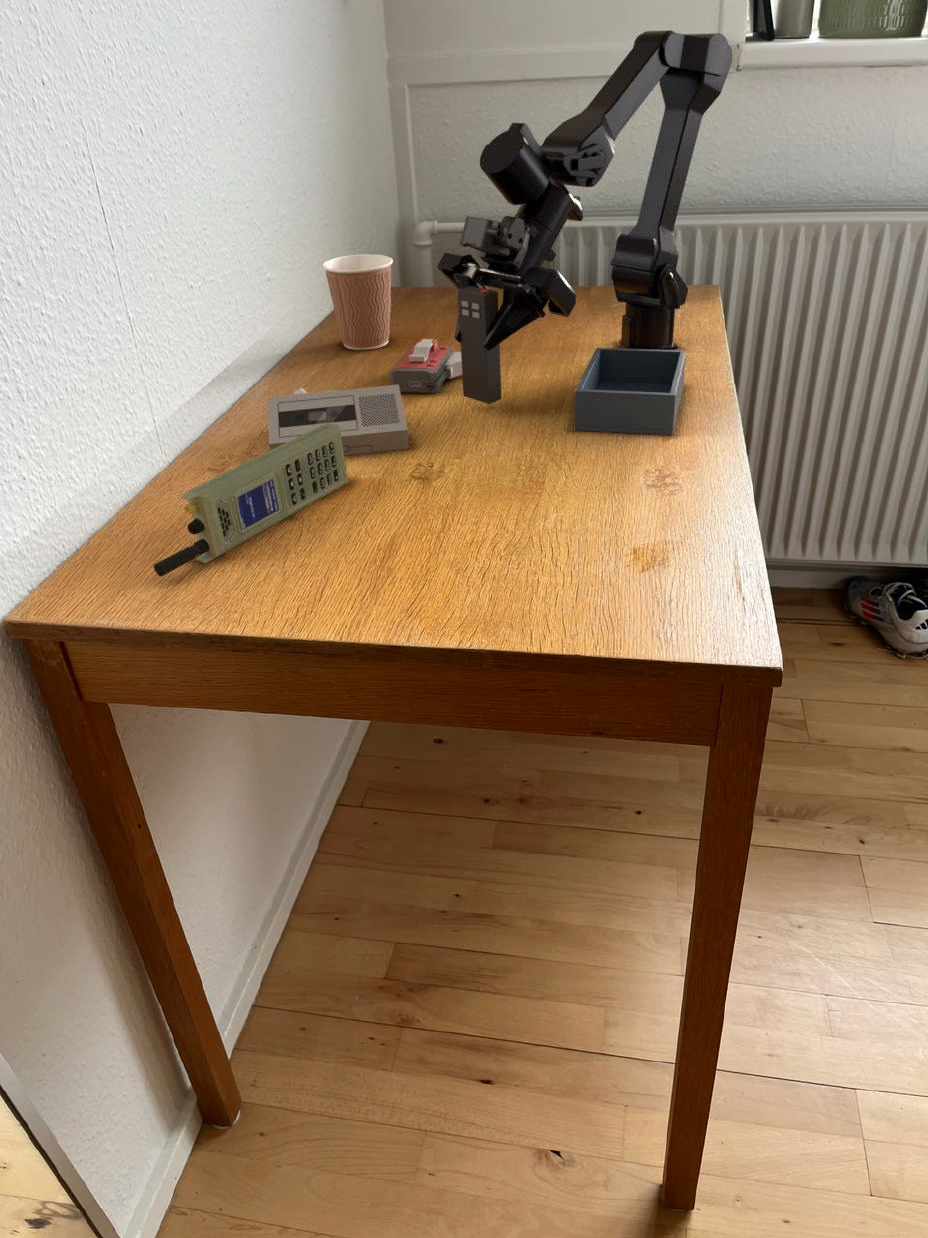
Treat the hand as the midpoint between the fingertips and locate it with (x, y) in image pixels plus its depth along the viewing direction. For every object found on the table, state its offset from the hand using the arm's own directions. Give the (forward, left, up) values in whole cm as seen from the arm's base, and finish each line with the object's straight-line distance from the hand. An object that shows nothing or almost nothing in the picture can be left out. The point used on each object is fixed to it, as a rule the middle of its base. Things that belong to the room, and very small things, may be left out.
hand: (471, 344), depth 114 cm
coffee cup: (+6, -36, -9) cm, 37 cm away
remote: (-1, -1, -7) cm, 7 cm away
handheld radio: (+30, +21, -9) cm, 37 cm away
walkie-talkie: (0, -18, -9) cm, 20 cm away
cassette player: (+18, +7, -7) cm, 21 cm away
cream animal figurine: (+18, -6, -9) cm, 21 cm away
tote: (-18, +6, -9) cm, 21 cm away
